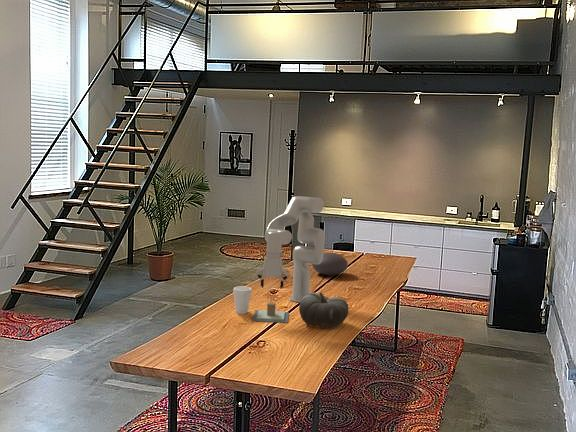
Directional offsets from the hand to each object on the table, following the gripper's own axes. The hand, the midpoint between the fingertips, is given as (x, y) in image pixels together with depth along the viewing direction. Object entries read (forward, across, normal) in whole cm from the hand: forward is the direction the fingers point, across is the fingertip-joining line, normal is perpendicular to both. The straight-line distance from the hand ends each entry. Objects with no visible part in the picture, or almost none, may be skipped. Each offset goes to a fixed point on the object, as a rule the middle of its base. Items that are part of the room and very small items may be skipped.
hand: (271, 287), depth 329 cm
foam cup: (+16, +16, -7) cm, 23 cm away
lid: (+15, 0, -1) cm, 15 cm away
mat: (+16, 0, -1) cm, 16 cm away
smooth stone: (+14, -34, -107) cm, 113 cm away
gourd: (+16, -27, +7) cm, 32 cm away
